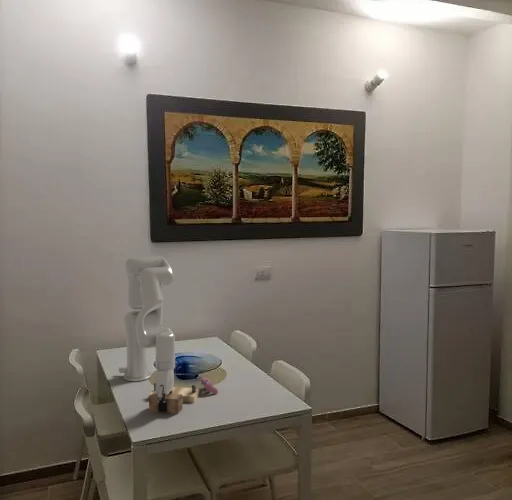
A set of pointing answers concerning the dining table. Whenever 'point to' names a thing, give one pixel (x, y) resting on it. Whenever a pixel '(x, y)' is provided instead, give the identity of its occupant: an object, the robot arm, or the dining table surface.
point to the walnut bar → (172, 403)
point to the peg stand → (184, 393)
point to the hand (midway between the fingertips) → (165, 407)
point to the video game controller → (208, 385)
